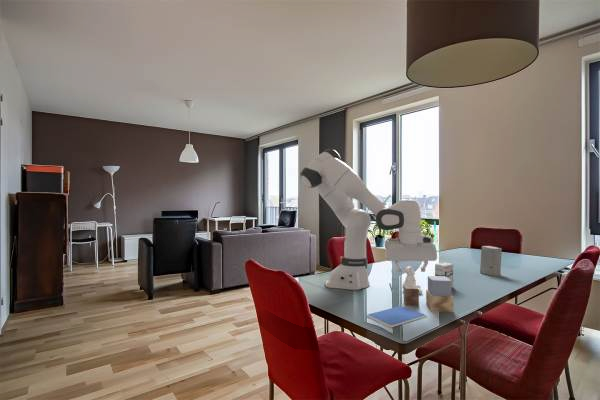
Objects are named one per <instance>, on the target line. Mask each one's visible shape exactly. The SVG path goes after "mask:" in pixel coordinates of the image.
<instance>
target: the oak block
mask: <svg viewBox="0 0 600 400" xmlns="http://www.w3.org/2000/svg"><path fill="white" fill-rule="evenodd" d="M425 296H426V297H425V298H426V299H425V304H426V306H427V307H428V309H429V310H430V311H431V312H440V313H441V312H442V313H443V312H445V313H454V311H455V310H454V309H455V308H454V296H453V295H452V296H432V295H431V293H430V292H429V291H428V289H426V291H425Z"/></svg>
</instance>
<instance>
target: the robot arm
mask: <svg viewBox="0 0 600 400" xmlns="http://www.w3.org/2000/svg"><path fill="white" fill-rule="evenodd" d="M299 176H300V180H301V181H302V182H303V183H304V185H305V186H306V187H308V188H311V189H316V191H317V192H318V193H319V195H320V197H321V198H322V199H323V200H324V201H325V203H326V204H327V205H328V207H330V209H331V210H332V211H333V214H335V216H336V217H337V218H338V220H339V221H340V223H341V224H342V225H343V227H345V229H346V232H345V239H344V241H343V243H344V247H343V250H344V255H343V256H342V255H341V256H340V257H339V261H340V264H339V265H338V266H336V267H335V268H334V269H332V270H331V272H330V275H329V279H326V280H325V284H324V285H325V286H326V288H329V289H330V288H331V289H341V290H354V291H359V290H361V289H366V288H369V287H370V281H369V277H368V271H367V270H368V257H367V237H368V233H369V228H370V225H371V223H372V219H371V218H372V217H371V216H370V214H369V213H368V212H366V211H365V210H364V209H360V208H357V207H356V205H354V203H353V201H352V199H353V200H356V201H358V202H360V203H361V204H363V205H364V206H365V207H366V208H367V209H368V210H369V211H370V212H371V213H372V214H373V215H374V216H375V224H376V226H377V227H378V228H379V229H381V230H383V231H386V232H387V231H388V232H389V231H393V230H397V229H398V238H387V239H386V240H385V241H384V248H385V259H386V260H387V261H388V262H393V263H394V264H395V266H396V270H397V272H403V271H402V267H401V266H399V262H419V261H420V262H423V265H422V266H420V272H422V273H425V272H426V267H427V266H428V265H429V262H435V261H437V259H438V253H437V247H436V245H435V243H434V242H435V239H434V238H433V237H432V236H429V235H426V234H422V228H421V222H422V217H421V216H422V215H421V207H420V205H419V203H418V202H417V201H415V200H413V199H412V200H411V199H400V200H399V201H397V202H395V203H393V204H392V205H387V204H384V203H383V202H382V201H381V200H380V199H379V198H378V197H377V196H375V195H374V193H372V192H371V191H370V190H369V189H368V188H367V186H366V184H365V183H364V182H363V180H362V178H361V177H360V176H359V175H358V174H357V172H355V170H353V168H351V167H350V166H349V165H348V164H346V162H344V161H342V158H341V156H340V154H339V153H338V152H337V151H336V150H335V149H332V148H327V149H325V150H323V151H322V152H321V153H319V154H318V155H317V156H316V157H314V158H313V159H312V160H311V161H310V162H309V163H308V164H307V165H306V167H303V169H302V170H301V172H300V175H299Z"/></svg>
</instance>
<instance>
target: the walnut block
mask: <svg viewBox="0 0 600 400" xmlns="http://www.w3.org/2000/svg"><path fill="white" fill-rule="evenodd" d="M419 295H420V294H419V289H418V288H417V286H413V285H404V290H403V303H404V305H405V307H407V306H410V307H420V296H419Z"/></svg>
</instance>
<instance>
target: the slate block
mask: <svg viewBox="0 0 600 400" xmlns="http://www.w3.org/2000/svg"><path fill="white" fill-rule="evenodd" d="M427 290H428V291H429V292H430V293H431V295H432V296H453V295H452V293H453V291H452V290H453V289H452V288H451V280H450V279H448V278H447V277H446V276H435V275H427Z"/></svg>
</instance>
